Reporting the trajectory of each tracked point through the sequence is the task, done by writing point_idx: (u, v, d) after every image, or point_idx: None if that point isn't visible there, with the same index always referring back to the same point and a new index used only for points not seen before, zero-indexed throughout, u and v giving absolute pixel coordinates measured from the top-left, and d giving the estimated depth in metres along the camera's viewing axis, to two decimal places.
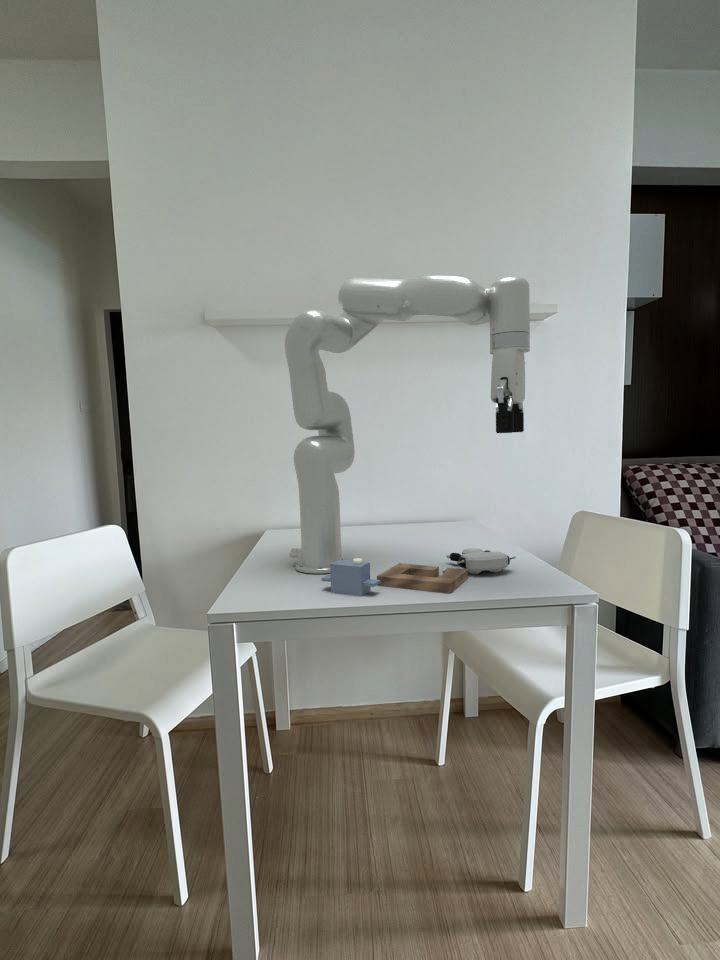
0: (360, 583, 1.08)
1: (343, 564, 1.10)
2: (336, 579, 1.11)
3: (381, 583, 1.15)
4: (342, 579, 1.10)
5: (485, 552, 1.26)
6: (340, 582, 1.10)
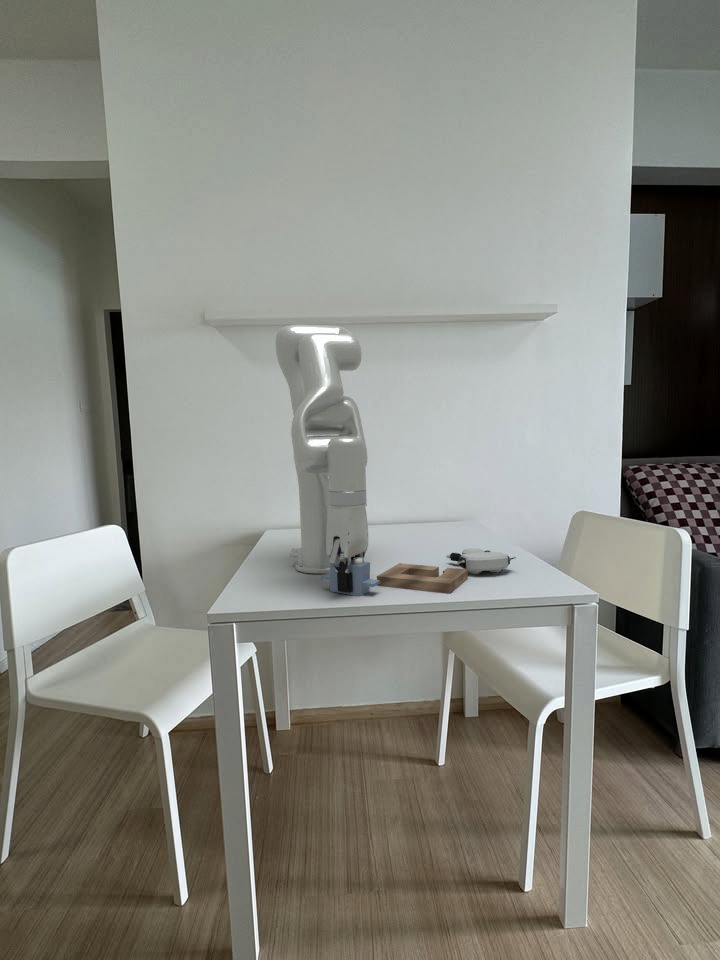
0: (359, 583, 1.08)
1: None
2: (335, 578, 1.11)
3: (381, 583, 1.15)
4: None
5: (485, 552, 1.26)
6: None
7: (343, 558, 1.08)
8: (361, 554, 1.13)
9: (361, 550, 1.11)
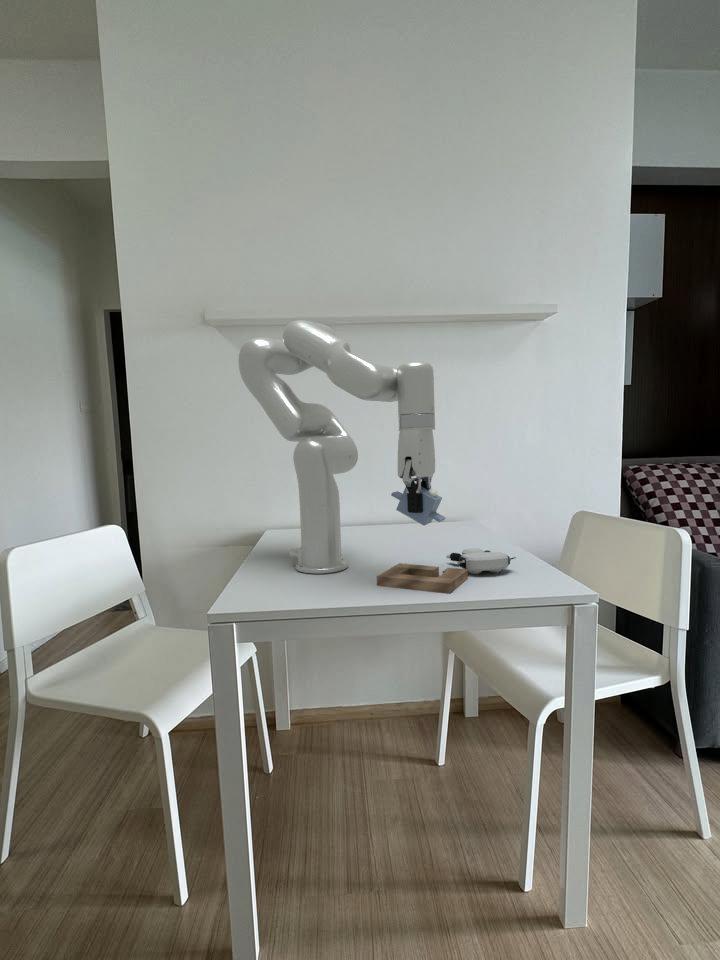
0: (428, 514, 1.13)
1: None
2: (406, 500, 1.15)
3: (381, 583, 1.15)
4: None
5: (485, 552, 1.26)
6: None
7: (414, 479, 1.12)
8: (429, 478, 1.17)
9: (429, 473, 1.15)
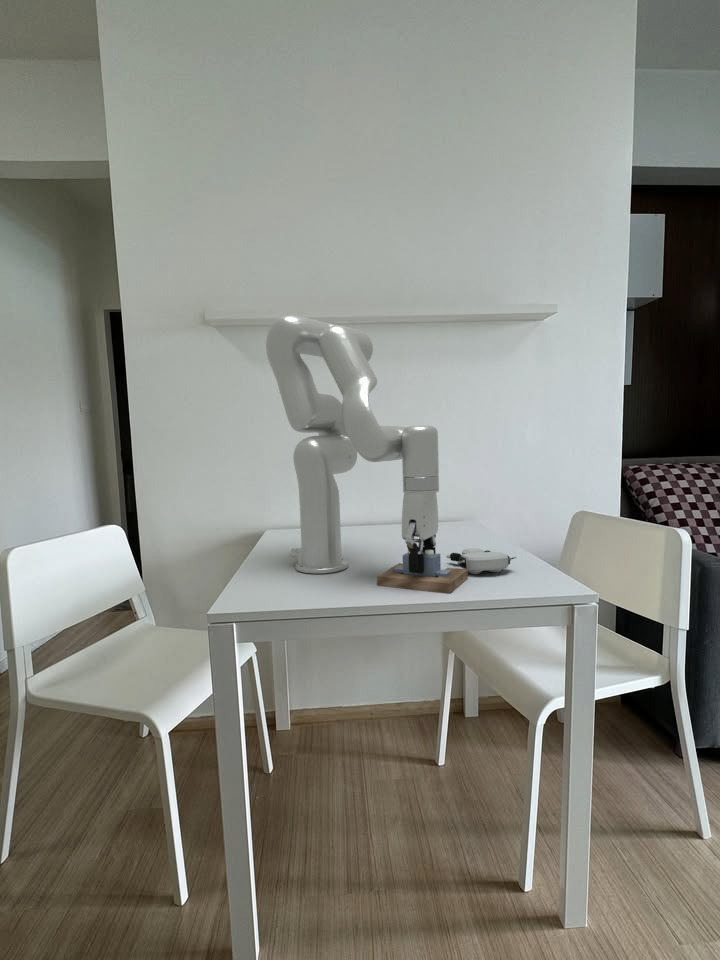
0: (433, 573, 1.14)
1: None
2: (408, 570, 1.16)
3: (381, 583, 1.15)
4: None
5: (485, 552, 1.26)
6: None
7: (416, 540, 1.13)
8: (434, 535, 1.19)
9: (433, 533, 1.17)
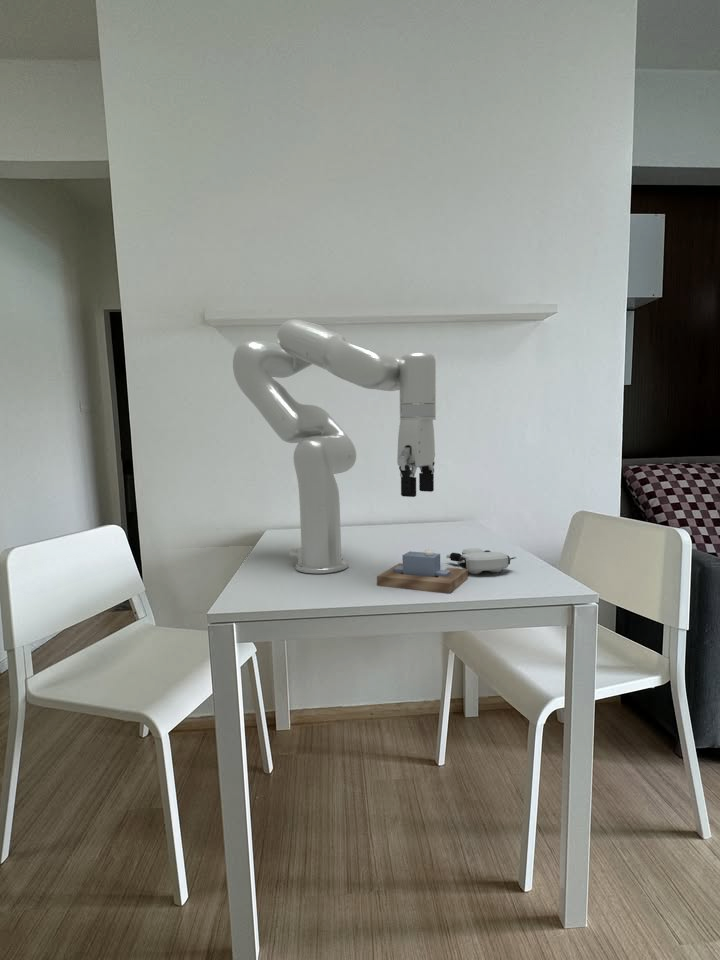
0: (433, 573, 1.14)
1: (415, 555, 1.16)
2: (408, 570, 1.17)
3: (381, 583, 1.15)
4: (414, 570, 1.16)
5: (485, 552, 1.26)
6: (412, 572, 1.16)
7: (410, 463, 1.13)
8: None
9: (429, 462, 1.17)
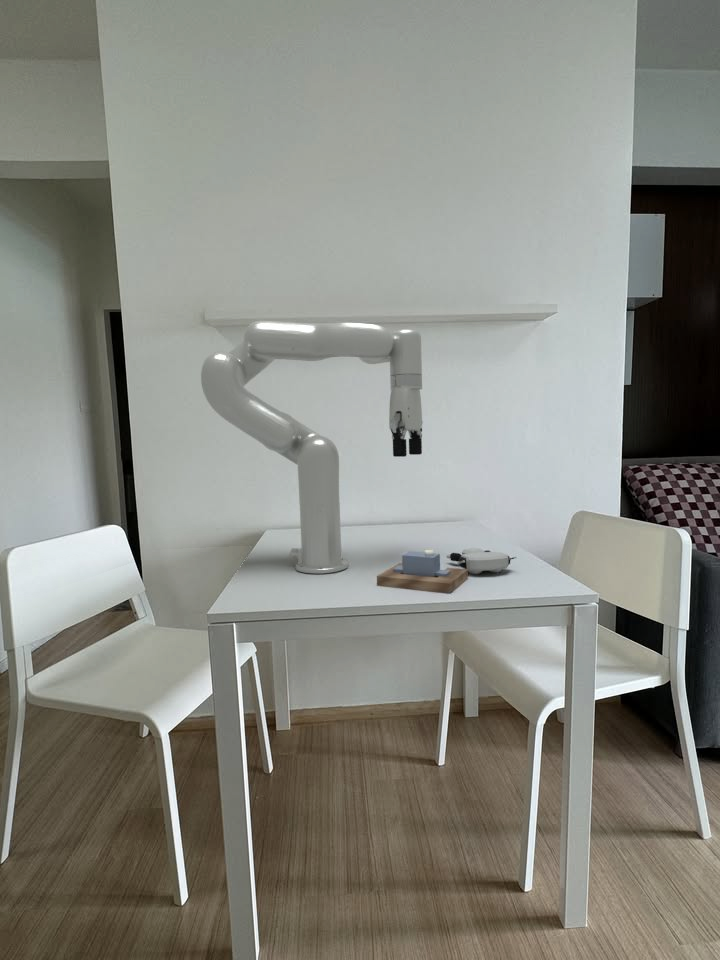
0: (432, 573, 1.14)
1: (415, 555, 1.16)
2: (408, 570, 1.17)
3: (381, 583, 1.15)
4: (414, 570, 1.16)
5: (485, 552, 1.26)
6: (412, 572, 1.16)
7: (401, 427, 1.28)
8: None
9: (417, 427, 1.32)
